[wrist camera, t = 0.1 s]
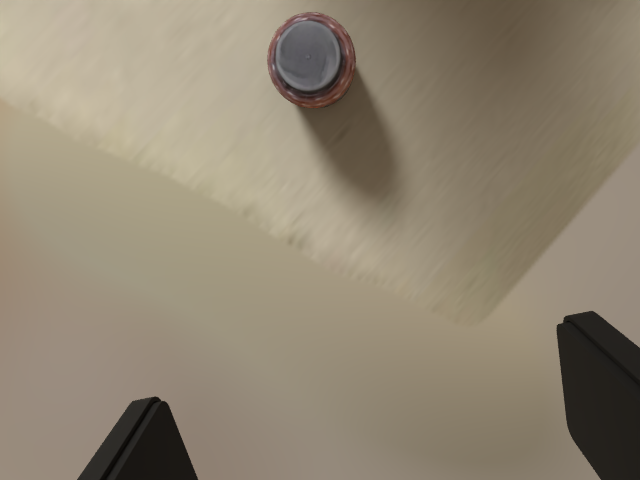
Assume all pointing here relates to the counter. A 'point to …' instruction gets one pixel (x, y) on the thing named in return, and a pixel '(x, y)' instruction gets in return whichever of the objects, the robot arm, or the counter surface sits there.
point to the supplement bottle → (311, 60)
